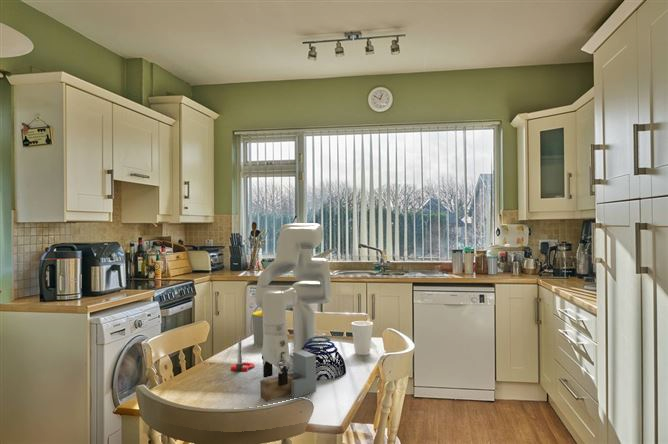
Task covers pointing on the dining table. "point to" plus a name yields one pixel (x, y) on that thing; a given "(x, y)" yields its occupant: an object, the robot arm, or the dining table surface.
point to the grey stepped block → (303, 373)
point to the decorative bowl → (321, 360)
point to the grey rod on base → (240, 364)
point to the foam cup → (362, 336)
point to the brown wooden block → (276, 388)
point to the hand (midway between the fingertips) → (275, 380)
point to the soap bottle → (258, 328)
